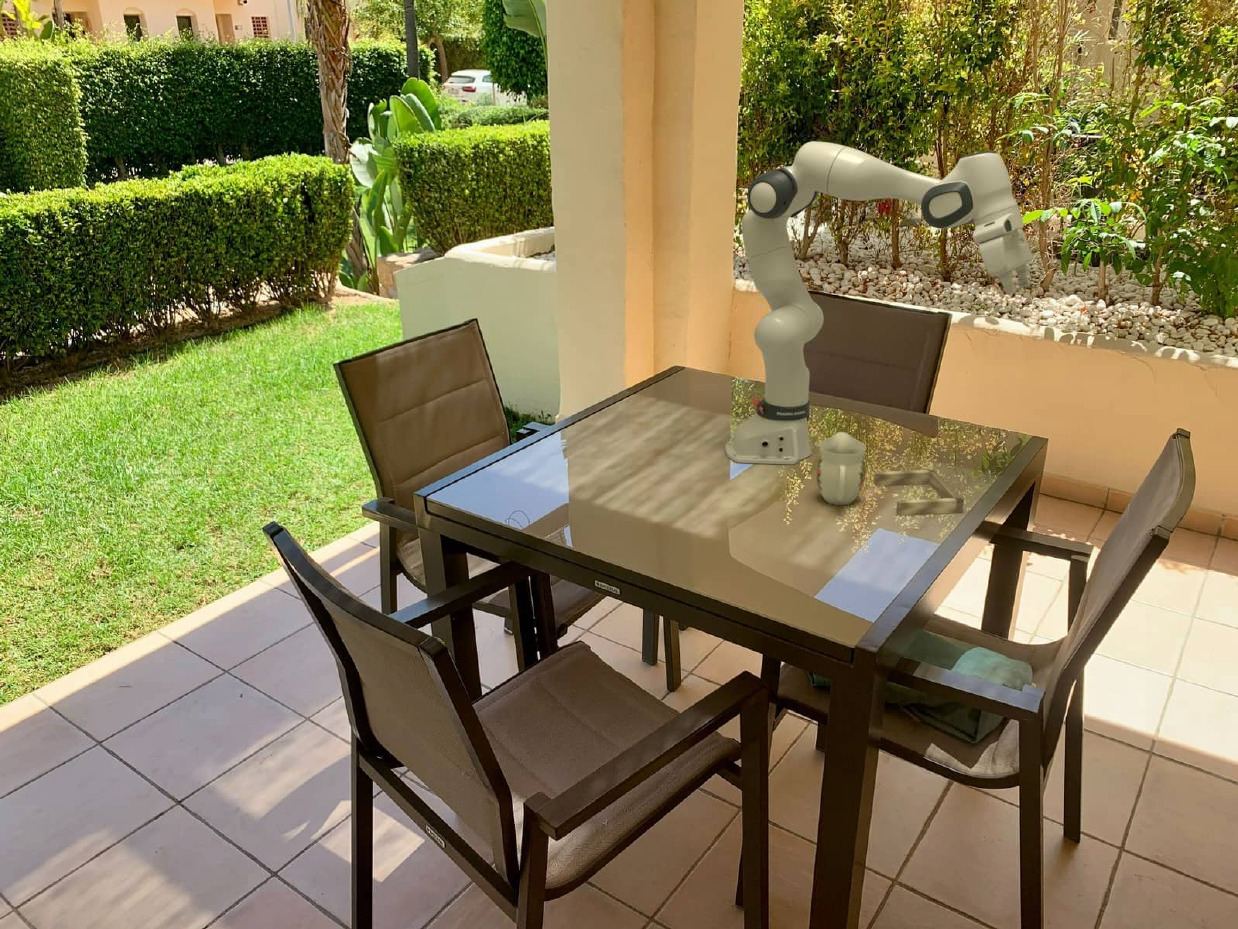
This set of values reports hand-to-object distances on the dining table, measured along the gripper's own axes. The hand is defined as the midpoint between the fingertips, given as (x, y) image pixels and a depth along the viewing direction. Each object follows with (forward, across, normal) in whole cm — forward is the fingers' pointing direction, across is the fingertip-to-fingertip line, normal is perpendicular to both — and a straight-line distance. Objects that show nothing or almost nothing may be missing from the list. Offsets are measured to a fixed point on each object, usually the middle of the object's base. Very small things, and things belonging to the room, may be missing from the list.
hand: (1018, 290), depth 194 cm
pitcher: (+34, +18, -46) cm, 60 cm away
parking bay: (+39, +6, -33) cm, 51 cm away
